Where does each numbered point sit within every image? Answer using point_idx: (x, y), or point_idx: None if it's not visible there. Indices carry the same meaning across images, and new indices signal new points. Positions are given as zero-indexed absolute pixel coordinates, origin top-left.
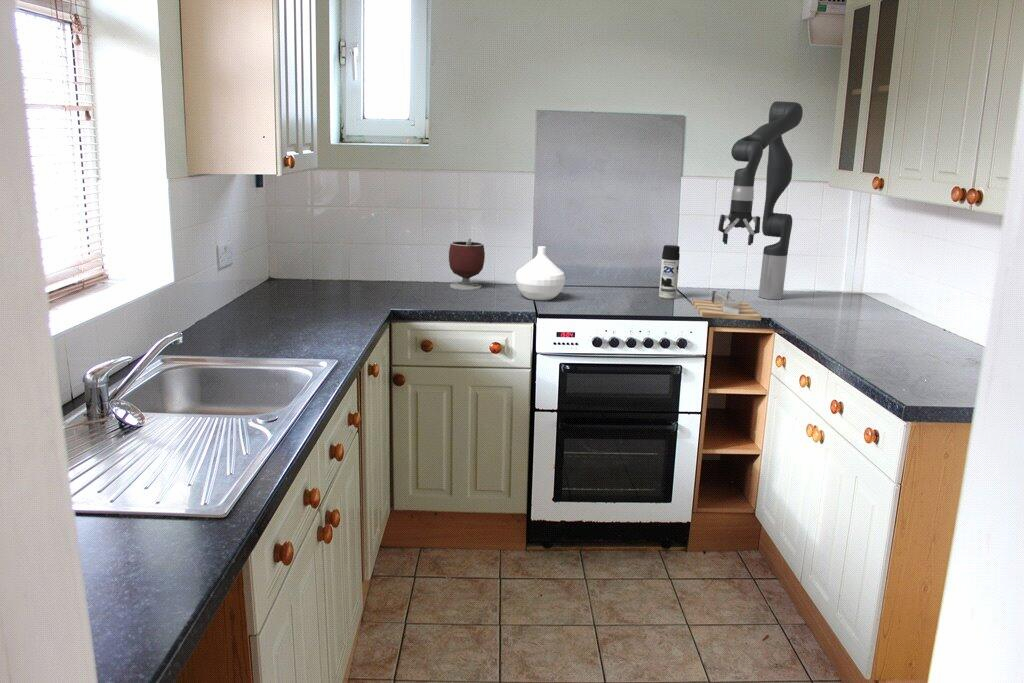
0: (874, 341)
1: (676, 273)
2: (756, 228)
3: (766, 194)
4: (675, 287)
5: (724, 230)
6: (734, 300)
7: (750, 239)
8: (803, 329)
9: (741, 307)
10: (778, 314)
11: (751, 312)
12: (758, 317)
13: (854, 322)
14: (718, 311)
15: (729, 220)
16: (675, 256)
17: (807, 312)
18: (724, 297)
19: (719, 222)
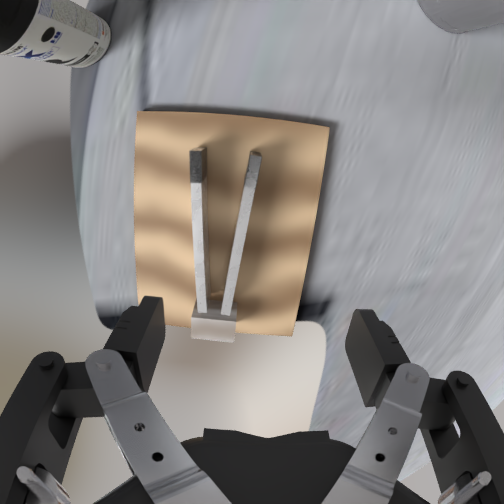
0: None
1: (56, 43)
2: (428, 451)
3: None
4: (85, 51)
5: (98, 410)
6: (227, 314)
7: (361, 377)
8: (348, 384)
9: (278, 228)
10: (379, 246)
11: (283, 296)
12: (284, 334)
13: (489, 301)
14: (185, 297)
15: (109, 498)
16: (1, 42)
17: (465, 208)
18: (203, 280)
19: (6, 426)
